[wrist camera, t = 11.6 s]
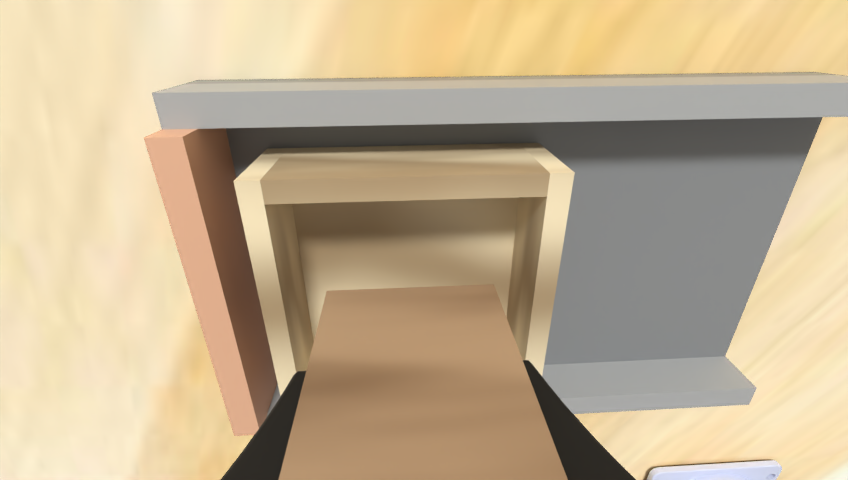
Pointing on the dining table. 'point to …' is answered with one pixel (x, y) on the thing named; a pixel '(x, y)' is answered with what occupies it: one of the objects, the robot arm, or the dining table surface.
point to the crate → (403, 232)
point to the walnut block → (418, 392)
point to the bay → (587, 217)
